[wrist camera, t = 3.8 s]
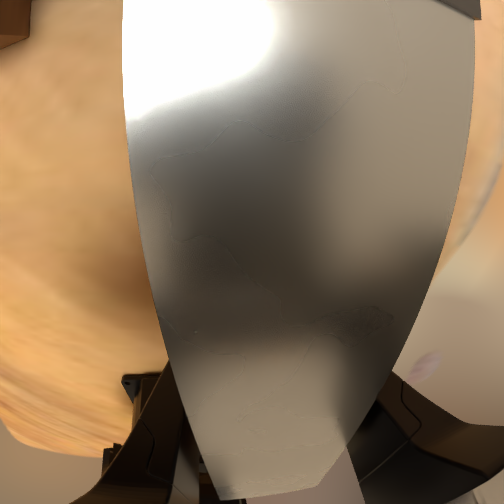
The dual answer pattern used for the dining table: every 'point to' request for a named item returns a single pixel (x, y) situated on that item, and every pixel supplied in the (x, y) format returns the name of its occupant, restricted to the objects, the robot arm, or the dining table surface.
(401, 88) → the rail
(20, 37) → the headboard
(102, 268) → the dining table surface
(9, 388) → the dining table surface
